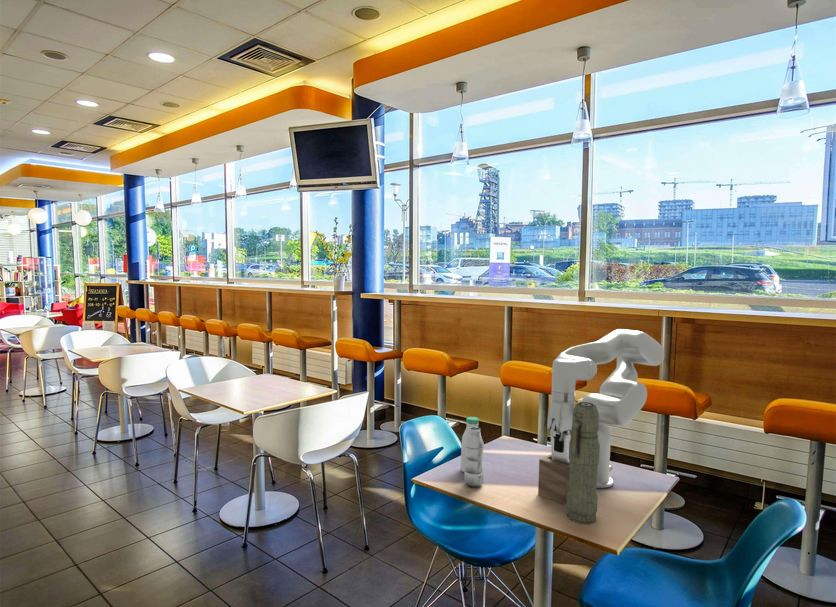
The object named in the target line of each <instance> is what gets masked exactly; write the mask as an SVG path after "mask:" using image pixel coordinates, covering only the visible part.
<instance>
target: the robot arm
mask: <svg viewBox="0 0 836 607" xmlns="http://www.w3.org/2000/svg"><path fill="white" fill-rule="evenodd" d="M615 359H616V367H615V369H614V370H613V371H612V373H611V374H610V375H609V376H608V377H607V378H605V380H604V382H602V384H601V385H600V388H599V393H595V392H592V393H591V392H590V393H586V394H585V395H584V396H582V399H581V400H580V401H581V402H588V403H592V404H594V405H596V406H597V410H598V413H599V427H598V434H597V435H598V441H599V444H600V454H599V464H598V465H597V484H596V489H604V488H606V489H607V488H610V487H612V486H613V485H614V479H613V478H612V477H611V476H610V472H612V471H613V469H614V467H613V466H612V465H611V464H610V461H611V460H610V458H611V440H612V435H611V430H610V426H613V427H618V428H623V427H624V428H625V427H627V425H628V424H630V423H631V422H632V421H633V419H634V418H635V417H636V416H637V414H638V413H639V412H640V411H641V410H642V408H643V407H644V405H645V403H646V401H647V397H648V390H647V387H646V385H645V384H644V383H642V382H640V381H638V379H639V378H638V377H639V376H638V372H637V370H636V368H635V365H634V364H638V365H646V366H652V367H657V366H660V365H661V364H662V363H663V361H664V359H665V349H664V348H663V346H662V344H661V343H659V342H658V341H657V340H656V339H655V338H653V337H652V336H650V335H649V334H648V333H646V332H644V331H640V330H633V329H627V328H625V329H624V328H623V329H622V328H617V329H614V330H612V331H610V332H609V333H607V334H606V335H604V336H602V337H601V338H599V339H598V340H596V341H593V342H588V343H583V344H579V345H575V346H571V347H569V348H567V349H566V350H564V351H562V352H560V353H559V354H558V355H557V357H556V358H555V359H554V360H553V362H552V373H551V400H550V403H549V407H548V414H547V425H546V426H547V430H548V431H549V435H550V436H551V435H552V436H553V439H554V451H557V452H560V453H563V443H564V441H562V439H563V433H565V434H570V435H571V431H572V414H573V410H574V407H575V405H576V403H575V401H576V382H577V381H590V380H591V379H593V378H594V377H595V375H596V374H597V371H598V367H597V365H602V364H603V365H604V364H608V363H611V362H612V361H613V360H615ZM609 425H610V426H609ZM557 433H560V434H557Z"/></svg>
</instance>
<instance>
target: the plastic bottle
mask: <svg viewBox="0 0 836 607" xmlns="http://www.w3.org/2000/svg"><path fill="white" fill-rule="evenodd" d="M469 434H470V435H469V437H468V438H467V439H466V441H465V449H466V471H465V473H464V475H463V479H464V483H465V484H466V485H467V486H469V487H480V486H482V485H483V482H484V472H483V454H484V447H485V443H484V442H485V441H483V437H482V436H481V437H480V435H481V428H480V427H479V426H478V427H471V428H470V432H469Z"/></svg>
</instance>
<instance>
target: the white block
mask: <svg viewBox="0 0 836 607" xmlns="http://www.w3.org/2000/svg"><path fill="white" fill-rule="evenodd" d="M557 434H560V433H557ZM570 439H571V433H570V434H565V433H563V439H562V441H564V443H563V453H560V452H557V451H554V439H553V436H552V435H550V447H551V448H550V449H551V450H550V451H551V454H552V460H554V461H557V462H560V463H563V464H566V465H569V464H570V460H569V442H570Z"/></svg>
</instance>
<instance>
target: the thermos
mask: <svg viewBox="0 0 836 607" xmlns="http://www.w3.org/2000/svg"><path fill="white" fill-rule="evenodd" d="M598 427H599V413H598V410H597V406H596V405H594V404H592V403H588V402H577V403H575V407H574V410H573V414H572V430H571V431H570V435H571V439H570V442H569V460H570V477H569V490H568V493H567V504H566V517H567V518H568V519H569V520H571V521H573V522H574V523H577V522H578V523H577V524H582V523H583V525H585V524H586V525H587V524H588V525H589V524H593V523H595V522H596V521H597V512H598V505H599V504H598V502H599V500H598V499H599V498H598V494H597V488H596V484H597V465H598V464H599V454H600V444H599V441H598V435H597V434H598Z"/></svg>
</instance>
